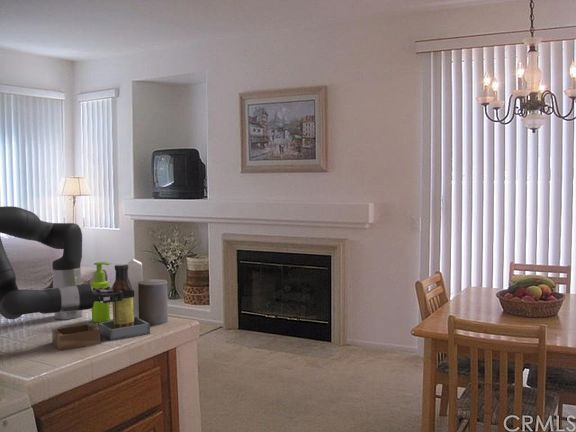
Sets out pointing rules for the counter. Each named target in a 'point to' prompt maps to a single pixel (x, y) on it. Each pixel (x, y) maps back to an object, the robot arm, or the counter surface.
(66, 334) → the collar
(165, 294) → the pillar candle
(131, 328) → the tray
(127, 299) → the sauce bottle
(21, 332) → the counter surface
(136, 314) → the milk
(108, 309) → the soap dispenser
